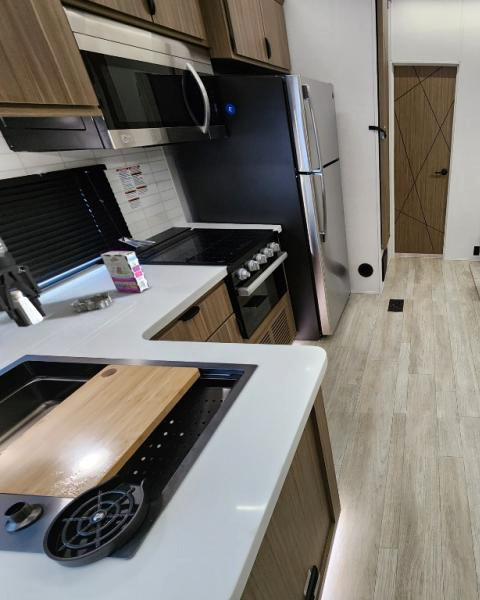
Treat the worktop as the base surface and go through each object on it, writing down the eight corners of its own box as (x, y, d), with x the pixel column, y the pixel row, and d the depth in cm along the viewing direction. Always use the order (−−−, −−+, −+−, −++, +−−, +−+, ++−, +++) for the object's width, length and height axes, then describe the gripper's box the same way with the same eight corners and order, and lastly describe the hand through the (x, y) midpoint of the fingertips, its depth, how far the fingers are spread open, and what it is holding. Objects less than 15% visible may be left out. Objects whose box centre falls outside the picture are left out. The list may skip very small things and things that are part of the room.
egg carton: (114, 300, 131) (110, 290, 129) (105, 309, 125) (101, 299, 123) (82, 303, 128) (77, 294, 127) (72, 313, 122) (66, 303, 120)
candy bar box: (150, 287, 141) (135, 251, 133) (141, 292, 136) (125, 255, 128) (126, 286, 142) (110, 250, 134) (116, 291, 137) (99, 254, 130)
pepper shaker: (21, 328, 105) (1, 298, 100) (19, 322, 108) (0, 292, 103) (44, 321, 109) (26, 292, 103) (42, 315, 112) (24, 286, 106)
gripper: (-30, 266, 89) (18, 337, 100) (32, 244, 105) (67, 306, 117) (-60, 267, 89) (-8, 337, 100) (7, 244, 105) (45, 307, 116)
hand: (32, 321), depth 108 cm, fingers closed on pepper shaker, 5 cm apart
